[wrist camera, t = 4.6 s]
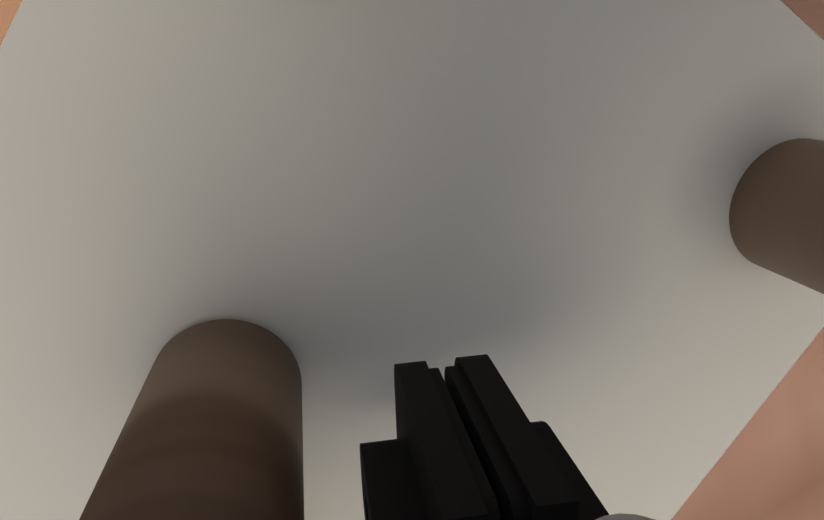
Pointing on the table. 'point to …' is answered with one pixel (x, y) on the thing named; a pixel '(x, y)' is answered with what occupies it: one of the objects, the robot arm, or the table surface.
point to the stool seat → (411, 220)
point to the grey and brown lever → (210, 433)
